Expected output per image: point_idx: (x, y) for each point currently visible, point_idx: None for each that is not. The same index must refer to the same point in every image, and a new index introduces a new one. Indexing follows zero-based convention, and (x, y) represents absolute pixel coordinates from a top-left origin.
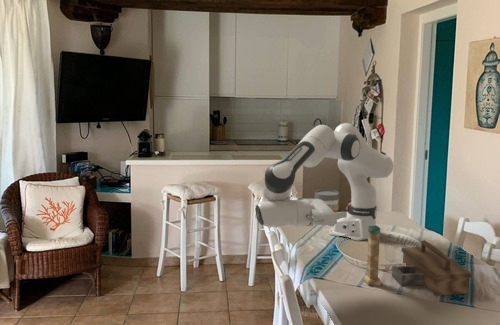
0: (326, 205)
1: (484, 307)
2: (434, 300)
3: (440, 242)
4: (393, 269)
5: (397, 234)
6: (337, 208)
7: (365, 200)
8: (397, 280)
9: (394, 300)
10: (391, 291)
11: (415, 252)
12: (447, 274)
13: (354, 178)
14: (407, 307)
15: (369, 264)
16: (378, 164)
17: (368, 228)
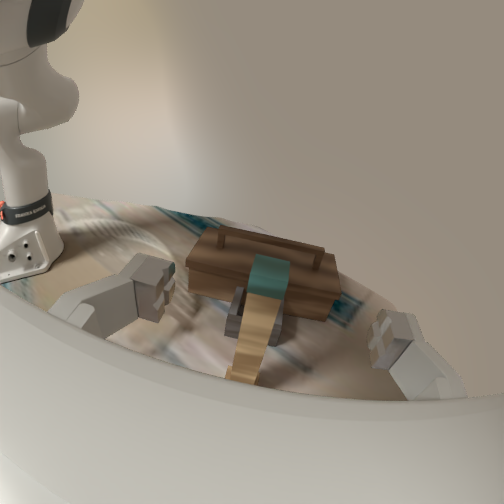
0: (221, 394)
1: (364, 294)
2: (342, 332)
3: (145, 210)
4: (233, 323)
5: (81, 223)
6: (173, 289)
7: (34, 183)
8: None
9: (337, 392)
10: (295, 376)
11: (221, 257)
12: (338, 279)
13: (6, 142)
14: (366, 383)
15: (250, 371)
16: (60, 92)
17: (250, 282)
